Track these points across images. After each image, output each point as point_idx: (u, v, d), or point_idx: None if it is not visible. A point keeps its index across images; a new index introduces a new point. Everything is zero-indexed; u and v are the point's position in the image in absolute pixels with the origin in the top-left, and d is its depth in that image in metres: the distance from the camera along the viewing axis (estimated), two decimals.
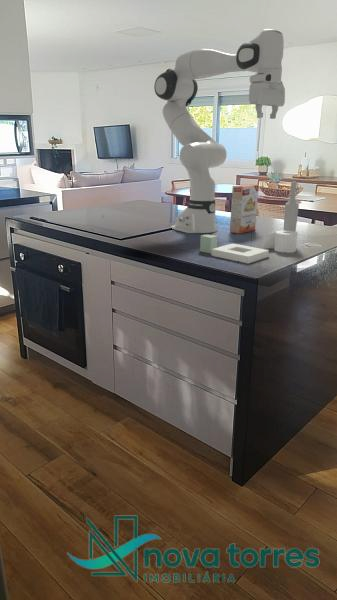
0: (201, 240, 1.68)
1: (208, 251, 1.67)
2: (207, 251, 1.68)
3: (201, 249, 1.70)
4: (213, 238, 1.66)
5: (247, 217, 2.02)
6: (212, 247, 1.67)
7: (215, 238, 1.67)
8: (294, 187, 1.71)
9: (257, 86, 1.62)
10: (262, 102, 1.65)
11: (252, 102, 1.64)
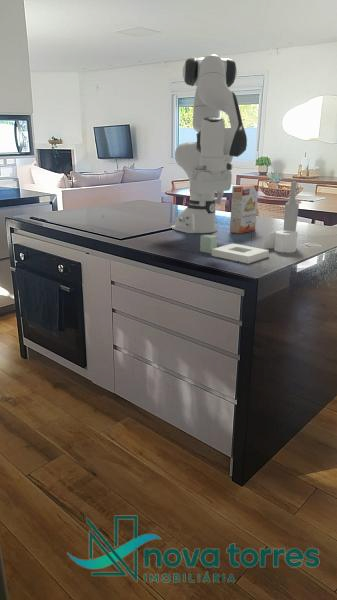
0: (201, 240, 1.68)
1: (208, 251, 1.67)
2: (207, 251, 1.68)
3: (201, 249, 1.70)
4: (213, 238, 1.66)
5: (246, 217, 2.02)
6: (212, 247, 1.67)
7: (215, 238, 1.67)
8: (294, 187, 1.71)
9: None
10: None
11: None
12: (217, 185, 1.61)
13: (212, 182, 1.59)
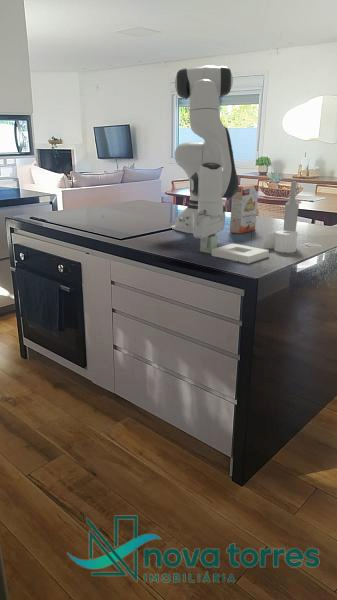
0: None
1: (208, 251, 1.67)
2: (207, 251, 1.68)
3: (201, 249, 1.70)
4: (213, 238, 1.66)
5: (246, 217, 2.02)
6: (212, 247, 1.67)
7: (215, 238, 1.67)
8: (294, 187, 1.71)
9: None
10: None
11: None
12: (215, 227, 1.67)
13: (211, 225, 1.64)
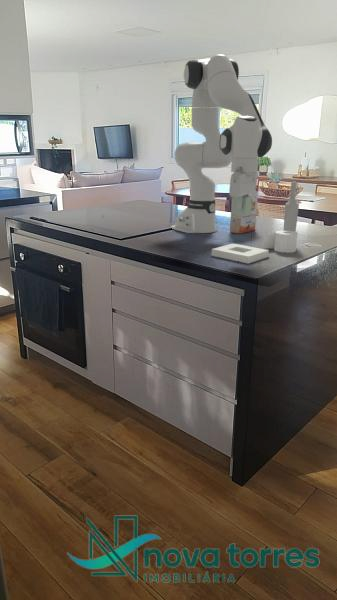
0: (234, 201, 1.56)
1: (242, 213, 1.55)
2: (241, 213, 1.55)
3: (234, 211, 1.57)
4: (248, 198, 1.54)
5: (246, 217, 2.02)
6: (247, 208, 1.55)
7: (250, 199, 1.55)
8: (294, 187, 1.71)
9: None
10: None
11: None
12: (249, 187, 1.55)
13: (247, 184, 1.52)
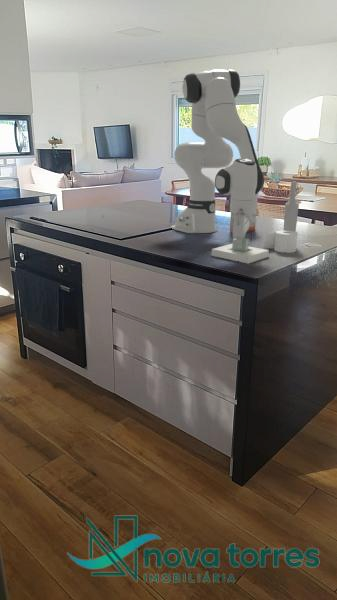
0: (233, 244, 1.61)
1: None
2: None
3: None
4: (247, 241, 1.60)
5: None
6: (246, 250, 1.61)
7: (248, 241, 1.61)
8: (294, 187, 1.71)
9: None
10: None
11: None
12: None
13: (246, 224, 1.57)
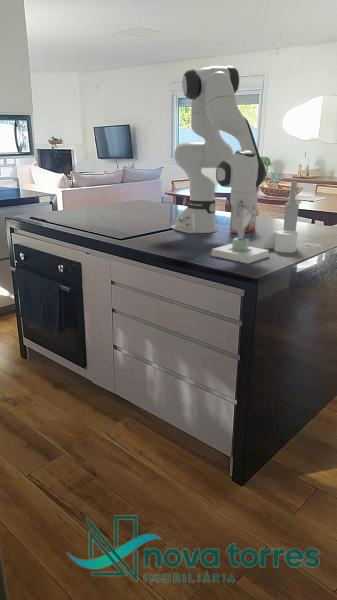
0: (233, 244, 1.61)
1: None
2: None
3: None
4: (247, 241, 1.60)
5: None
6: (246, 250, 1.61)
7: (248, 241, 1.61)
8: (294, 187, 1.71)
9: None
10: None
11: None
12: (247, 218, 1.59)
13: (246, 216, 1.56)
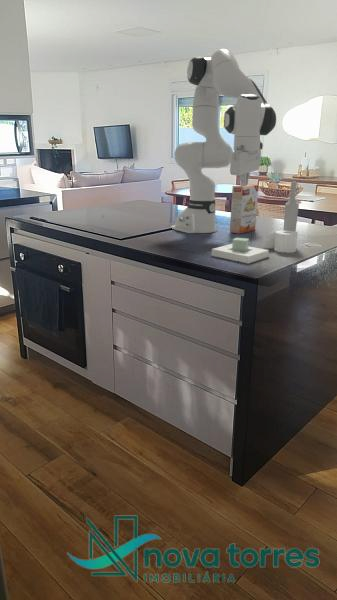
0: (233, 244, 1.61)
1: None
2: None
3: None
4: (247, 241, 1.60)
5: (246, 217, 2.02)
6: (246, 250, 1.61)
7: (248, 241, 1.61)
8: (294, 187, 1.71)
9: None
10: None
11: None
12: (251, 165, 1.58)
13: (248, 162, 1.55)
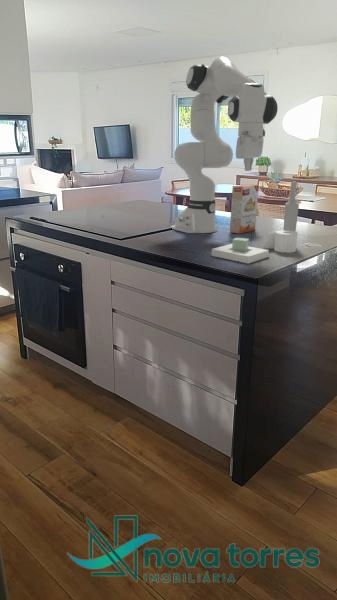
0: (233, 244, 1.61)
1: None
2: None
3: None
4: (247, 241, 1.60)
5: (247, 217, 2.02)
6: (246, 250, 1.61)
7: (248, 241, 1.61)
8: (294, 187, 1.71)
9: None
10: None
11: None
12: (254, 151, 1.66)
13: (252, 147, 1.63)
